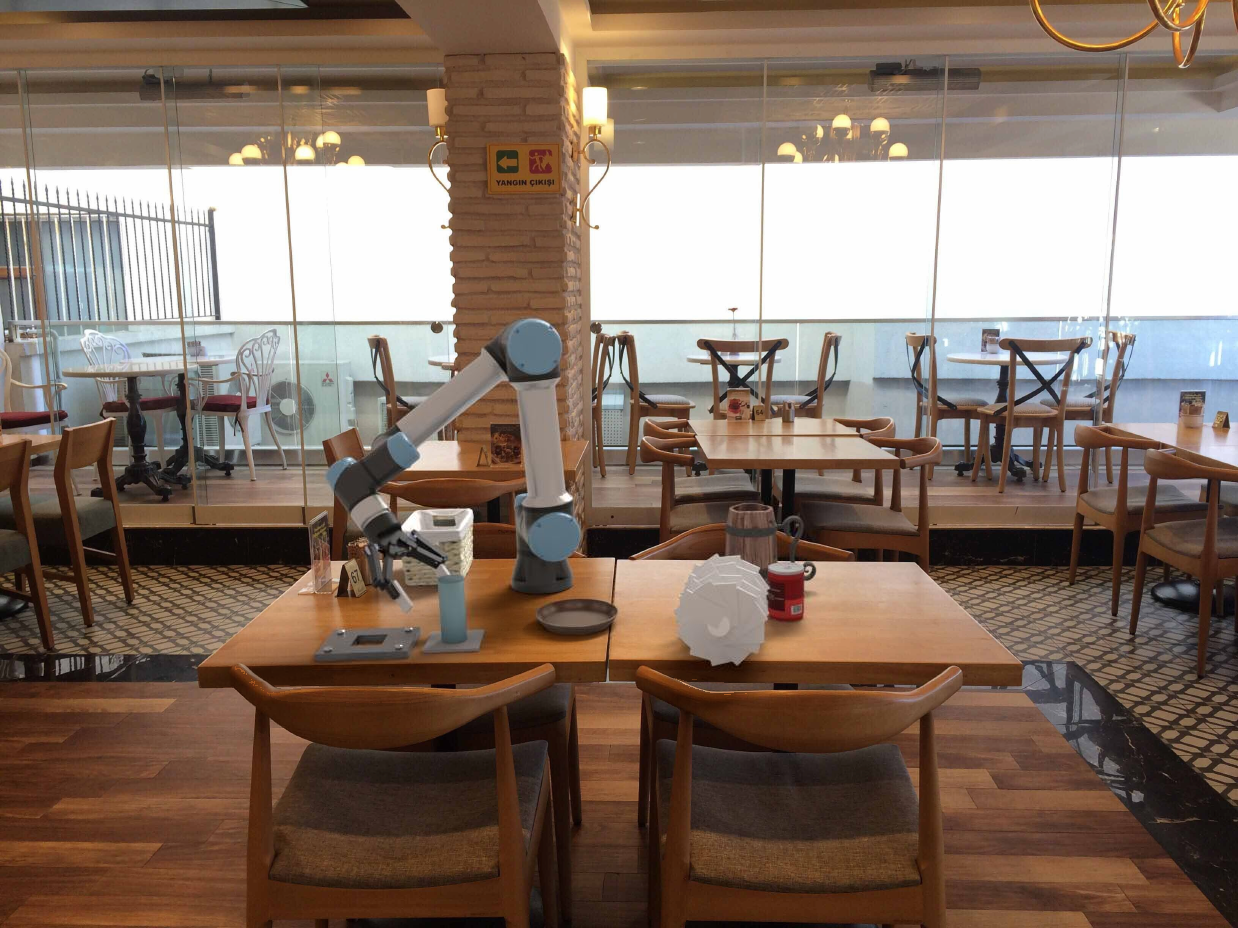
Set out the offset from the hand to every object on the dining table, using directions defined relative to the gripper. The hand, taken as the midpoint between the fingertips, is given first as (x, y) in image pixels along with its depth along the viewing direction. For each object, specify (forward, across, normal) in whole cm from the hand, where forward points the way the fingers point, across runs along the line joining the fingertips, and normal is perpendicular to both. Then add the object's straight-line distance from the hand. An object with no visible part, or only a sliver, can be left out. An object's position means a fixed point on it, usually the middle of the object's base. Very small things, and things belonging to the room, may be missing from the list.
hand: (433, 600), depth 194 cm
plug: (+9, 0, -2) cm, 9 cm away
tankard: (+39, -62, +27) cm, 78 cm away
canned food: (+47, -47, +35) cm, 75 cm away
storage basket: (-17, -36, -30) cm, 50 cm away
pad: (+9, 0, -2) cm, 10 cm away
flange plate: (0, +10, -12) cm, 16 cm away
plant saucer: (+21, -22, +9) cm, 31 cm away
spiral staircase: (+44, -23, +33) cm, 60 cm away
